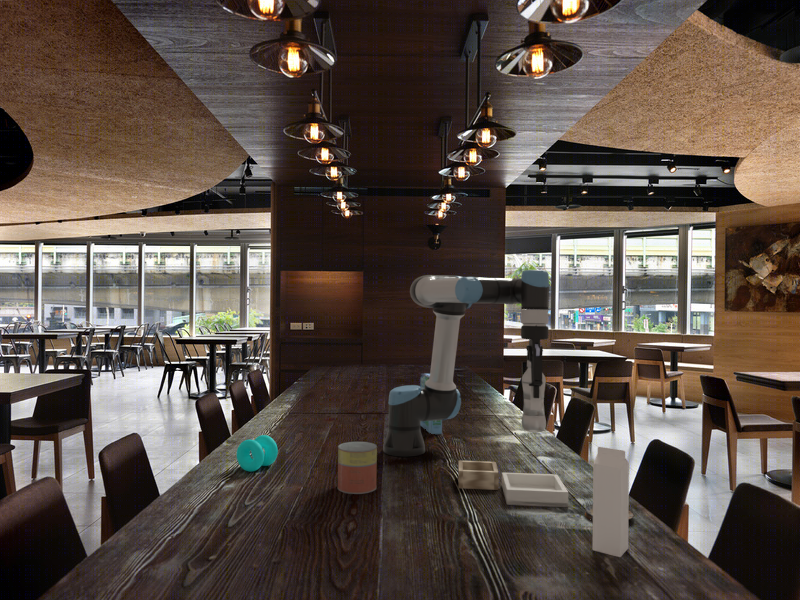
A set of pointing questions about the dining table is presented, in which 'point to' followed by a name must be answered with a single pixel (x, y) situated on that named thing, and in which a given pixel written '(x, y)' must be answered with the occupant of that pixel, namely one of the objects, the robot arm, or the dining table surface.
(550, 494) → the plastic tray
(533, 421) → the plastic bottle
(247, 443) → the turquoise yo-yo
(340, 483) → the canned food
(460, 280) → the robot arm
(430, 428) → the gum box
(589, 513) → the patterned ceramic bowl
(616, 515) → the milk
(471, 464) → the wooden collar
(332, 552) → the dining table surface
